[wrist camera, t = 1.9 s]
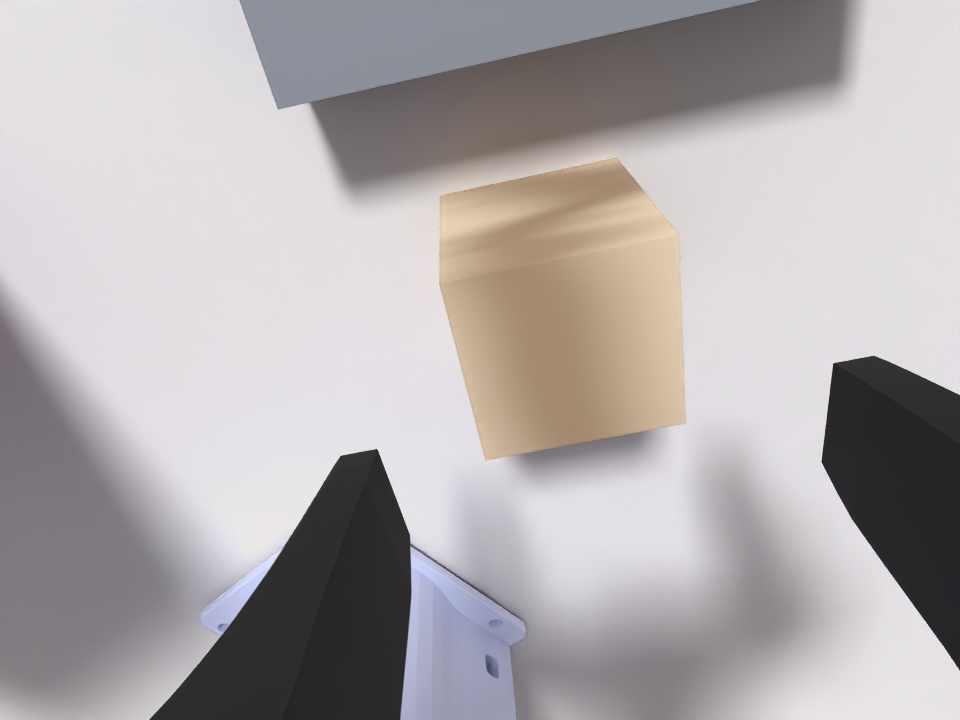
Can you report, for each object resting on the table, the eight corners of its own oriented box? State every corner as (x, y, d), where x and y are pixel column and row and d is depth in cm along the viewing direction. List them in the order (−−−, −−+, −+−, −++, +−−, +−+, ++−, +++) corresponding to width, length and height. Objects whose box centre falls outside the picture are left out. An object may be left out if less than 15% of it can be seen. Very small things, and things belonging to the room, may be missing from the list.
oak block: (615, 157, 16) (679, 234, 12) (629, 312, 18) (686, 423, 14) (440, 195, 16) (439, 283, 12) (475, 342, 18) (485, 460, 14)
